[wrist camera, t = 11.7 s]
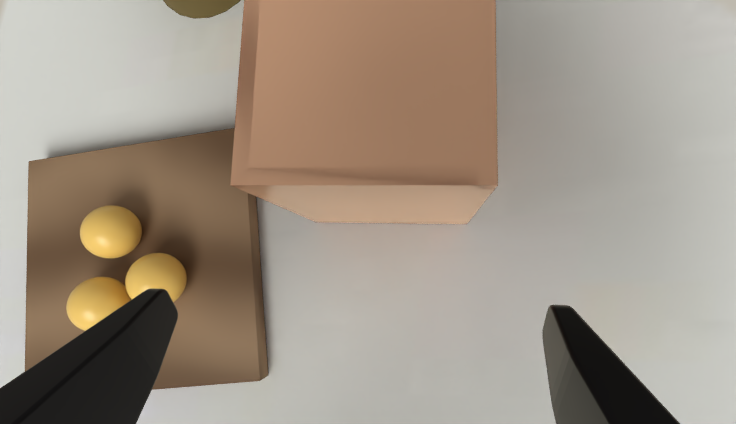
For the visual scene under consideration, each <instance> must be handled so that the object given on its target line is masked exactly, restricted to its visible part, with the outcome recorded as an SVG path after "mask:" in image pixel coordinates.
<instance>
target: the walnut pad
mask: <svg viewBox="0 0 736 424" xmlns="http://www.w3.org/2000/svg"><path fill="white" fill-rule="evenodd" d="M234 130H235V128H231V129H225V130H219V131H213V132H207V133H201V134H195V135H188V136H182V137H176V138H170V139H164V140H158V141H151V142H145V143H139V144H133V145H127V146H121V147H115V148H108V149H102V150H96V151H90V152H84V153H78V154H71V155H65V156H59V157H53V158H47V159H41V160H35V161H29V170H28V226H27V283H26V339H25V371H27V370H28V369H30V368H31V367H33V366H34V365H36V364H37V363H39V362H40V361H42V360H43V359H45V358H46V357H47V356H49V355H50V354H52V353H53V352H55V351H56V350H58V349H59V348H61V347H62V346H64V345H65V344H67V343H68V342H70V341H71V340H73V339H74V338H76V337H77V336H79V335H80V334H82V333H83V332H85V331H84V330H82V329H80V328H78V327H76V326H75V325H74V324H73V323H72V322H71V321H70V319H69V317H68V315H67V310H66V305H67V301H68V298H69V296H70V294H71V292H72V291H73V290H74V289H75V288H76V287H77V286H78V285H79V284H80V283H82V282H84V281H86V280H88V279H91V278H95V277H110V278H113V279H116V280H118V281H120V282H121V283H122V284H123V285H124V286H125V279H126V275H127V272H128V270H129V268H130V267H131V266H132V264H133V263H134V262H135V261H137V260H138V259H139V258H141V257H143V256H145V255H148V254H152V253H165V254H168V255H171V256H173V257H175V258H176V259H177V260H179V261H180V262H181V264H182V265H183V267H184V268H185V271H186V275H187V282H186V287H185V289H184V291H183V293H182V294H181V296H180V297H179V298H178V299H177V300H176V301H175V302H173V303H174V305H175V307H176V309H177V311H178V319H177V323H176V325H175V328H174V331H173V334H172V337H171V340H170V343H169V346H168V348H167V351H166V354H165V357H164V360H163V363H162V366H161V368H160V371H159V374H158V376H157V379H156V381H155V383H154V386H153V388H152V390H153V389H165V388H177V387H190V386H202V385H214V384H227V383H239V382H251V381H260V380H262V379H263V378H265V377H266V376H268V366H267V351H266V336H265V322H264V307H263V292H262V278H261V263H260V248H259V234H258V219H257V204H256V196H254V195H252V194H249V193H247V192H245V191H242V190H240V189H238V188H235V187H233V186H231V185H230V184H231V170H232V157H233V144H234ZM110 205H113V206H120V207H124V208H126V209H128V210H130V211H131V212H132V213H134V214H135V215H136V216H137V218H138V219H139V221H140V223H141V227H142V236H141V239H140V242H139V244H138V245H137V246H136V248H135V249H134V250H133V251H131V252H130V253H128V254H127V255H124V256H122V257H118V258H102V257H98V256H96V255H94V254H92V253H91V252H89V251H88V250H87V249H86V248H85V246H84V245H83V243H82V241H81V238H80V227H81V224H82V222H83V220H84V219H85V217H86V216H87V215H88V214H89V213H90V212H92V211H93V210H95V209H97V208H100V207H103V206H110ZM125 287H126V286H125ZM131 300H132V299H131Z"/></svg>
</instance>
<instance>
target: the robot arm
mask: <svg viewBox="0 0 736 424" xmlns="http://www.w3.org/2000/svg"><path fill="white" fill-rule="evenodd" d="M177 319H178V311H177V309H176V307H175V305H174V303H173V301H172V299H171V297H170V295H169V293H168V292H167V291H166V290H165V289H155V288H151V289H147V290H145V291H144V292H142V293H141V294H139V295H138V296H136V297H135V298H133V299H132V300H130V301H129V302H127V303H126V304H124V305H123V306H121V307H120V308H119V309H117V310H116V311H114V312H113V313H111V314H110V315H108V316H107V317H105V318H104V319H102V320H101V321H99V322H98V323H96V324H95V325H93V326H92V327H90V328H89V329H87V330H86V331H85V332H83V333H82V334H80V335H79V336H77V337H76V338H74V339H73V340H71V341H70V342H68V343H67V344H65V345H64V346H62V347H61V348H59V349H58V350H56V351H55V352H53V353H52V354H50V355H49V356H47V357H46V358H45V359H43V360H42V361H40V362H39V363H37V364H36V365H34V366H33V367H31V368H30V369H28V370H27V371H25V372H24V373H22V374H21V375H19V376H18V377H16V378H15V379H13V380H12V381H10V382H9V383H7V384H6V385H5V386H3V387H2V388H0V424H136V422H137V420H138V418H139V416H140V414H141V411H142V409H143V407H144V405H145V403H146V401H147V399H148V396H149V394H150V392H151V390H152V388H153V386H154V383H155V381H156V379H157V376H158V374H159V371H160V368H161V366H162V363H163V360H164V357H165V354H166V351H167V348H168V346H169V343H170V340H171V337H172V334H173V331H174V328H175V325H176V323H177ZM543 345H544V352H545V359H546V366H547V373H548V380H549V388H550V395H551V401H552V407H553V412H554V416H555V420H556V424H680V423H679V422H678V421H677V420H676V419H675V418H674V417H673V416H672V415H671V414H670V412H669V411H668V410H667V409H666V408H665V407H664V406H663V405H662V404H661V403H660V402H659V401H658V400H657V398H656V397H655V396H654V395H653V394H652V393H651V392H650V391H649V390H648V389H647V388H646V387H645V386H644V384H643V383H642V382H641V381H640V380H639V379H638V378H637V377H636V376H635V375H634V374H633V373H632V372H631V370H630V369H629V368H628V367H627V366H626V365H625V364H624V363H623V362H622V361H621V360H620V359H619V358H618V356H617V355H616V354H615V353H614V352H613V351H612V350H611V349H610V348H609V347H608V346H607V345H606V344H605V342H604V341H603V340H602V339H601V338H600V337H599V336H598V335H597V334H596V333H595V332H594V331H593V330H592V328H591V327H590V326H589V325H588V324H587V323H586V322H585V321H584V320H583V319H582V318H581V317H580V316H579V314H578V313H577V312H576V311H575V310H574V309H573V308H572V307H570V306H567V305H551V306H550V307H549V308H548V311H547V315H546V319H545V323H544V326H543Z"/></svg>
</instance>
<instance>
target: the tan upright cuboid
mask: <svg viewBox="0 0 736 424" xmlns="http://www.w3.org/2000/svg"><path fill="white" fill-rule="evenodd" d="M230 185H231V186H233V187H235V188H238V189H240V190H242V191H245V192H247V193H249V194H252V195H254V196H256V197H259V198H261V199H263V200H266V201H268V202H270V203H272V204H275V205H277V206H279V207H282V208H284V209H286V210H289V211H291V212H293V213H296V214H298V215H300V216H303V217H305V218H307V219H310V220H312V221H314V222H332V223H406V224H468V222H469V221H470V220H471V218H472V217H473V216H474V215H475V213H476V212H477V211H478V210H479V208H480V207H481V206H482V205H483V203H484V202H485V201H486V200H487V198H488V197H489V196H490V195H491V193H492V192H493V191H494V190H495V188H496V187H497V186H498V164H497V84H496V5H495V0H244V11H243V24H242V38H241V51H240V64H239V77H238V91H237V104H236V117H235V130H234V144H233V157H232V170H231V184H230Z"/></svg>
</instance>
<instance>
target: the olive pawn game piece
mask: <svg viewBox="0 0 736 424" xmlns="http://www.w3.org/2000/svg"><path fill="white" fill-rule="evenodd" d="M239 1H240V0H164V2H165V3H166V5H167V6H168V7H170V8H171V9H172V10H174V11H175V12H177V13H178V14H179V15H183V16H187V17H190V18H209V17H212V16H215V15H218V14H220V13H223V12H226V11H227V10H228V9H230V8H231V7H232V6H234V5H235V4H237V3H238V2H239Z"/></svg>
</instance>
